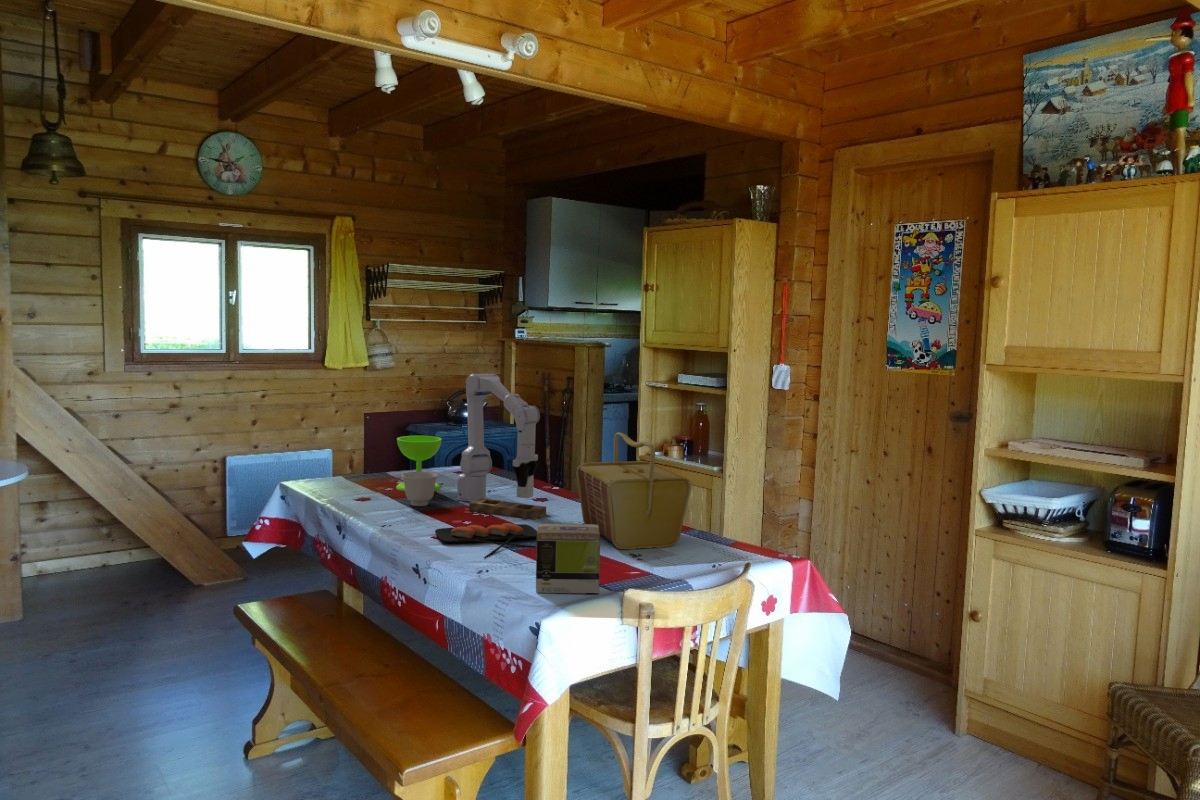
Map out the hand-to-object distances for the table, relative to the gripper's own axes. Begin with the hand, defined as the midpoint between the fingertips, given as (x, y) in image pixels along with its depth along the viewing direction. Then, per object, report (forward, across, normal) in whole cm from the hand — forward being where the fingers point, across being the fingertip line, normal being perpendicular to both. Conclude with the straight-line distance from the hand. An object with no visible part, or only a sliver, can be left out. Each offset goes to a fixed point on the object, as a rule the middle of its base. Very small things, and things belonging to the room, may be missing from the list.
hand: (524, 485), depth 280 cm
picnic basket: (+10, -11, -40) cm, 43 cm away
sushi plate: (+10, -36, -8) cm, 38 cm away
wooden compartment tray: (+10, 0, +6) cm, 11 cm away
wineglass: (+10, +19, +52) cm, 56 cm away
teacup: (+10, -3, +37) cm, 38 cm away
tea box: (+10, -63, -42) cm, 76 cm away
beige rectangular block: (+4, 0, 0) cm, 4 cm away
